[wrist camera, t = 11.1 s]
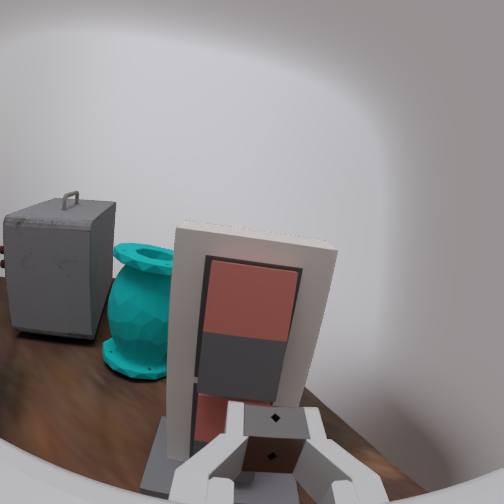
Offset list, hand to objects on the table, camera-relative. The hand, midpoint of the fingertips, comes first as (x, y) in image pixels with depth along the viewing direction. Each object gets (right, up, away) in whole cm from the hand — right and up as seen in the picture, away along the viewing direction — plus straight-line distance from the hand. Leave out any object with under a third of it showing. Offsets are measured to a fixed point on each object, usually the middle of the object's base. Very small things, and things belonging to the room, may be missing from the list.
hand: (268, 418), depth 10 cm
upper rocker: (-2, -5, +13) cm, 14 cm away
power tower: (-4, -19, +19) cm, 27 cm away
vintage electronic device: (-41, -7, +50) cm, 65 cm away
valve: (-12, -13, +44) cm, 47 cm away
